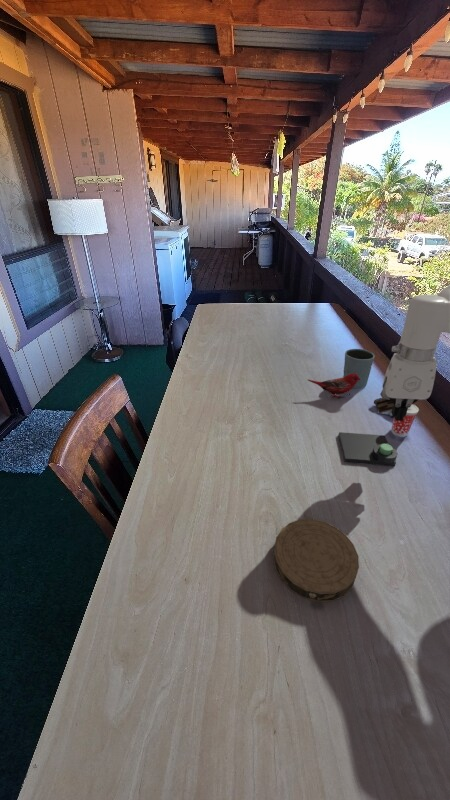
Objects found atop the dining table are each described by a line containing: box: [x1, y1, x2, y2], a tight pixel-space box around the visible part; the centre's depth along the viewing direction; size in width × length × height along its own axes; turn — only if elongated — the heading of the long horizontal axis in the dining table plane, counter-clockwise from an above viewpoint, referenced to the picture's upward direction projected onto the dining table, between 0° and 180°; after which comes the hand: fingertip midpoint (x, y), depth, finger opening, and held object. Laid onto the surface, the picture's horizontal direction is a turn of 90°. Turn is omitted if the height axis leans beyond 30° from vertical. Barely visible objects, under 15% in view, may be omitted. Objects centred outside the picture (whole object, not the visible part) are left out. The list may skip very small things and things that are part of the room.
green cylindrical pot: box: [342, 348, 376, 389], centre depth 130 cm, size 10×10×12 cm
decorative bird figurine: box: [307, 373, 361, 399], centre depth 121 cm, size 3×18×10 cm, turn 78°
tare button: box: [379, 443, 394, 455], centre depth 93 cm, size 3×3×2 cm
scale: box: [337, 431, 398, 467], centre depth 97 cm, size 13×12×3 cm
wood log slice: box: [273, 518, 360, 603], centre depth 68 cm, size 16×16×3 cm
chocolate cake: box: [373, 397, 403, 419], centre depth 114 cm, size 10×7×12 cm
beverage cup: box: [390, 403, 420, 438], centre depth 102 cm, size 6×6×14 cm
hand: (397, 417), depth 89 cm, fingers closed
